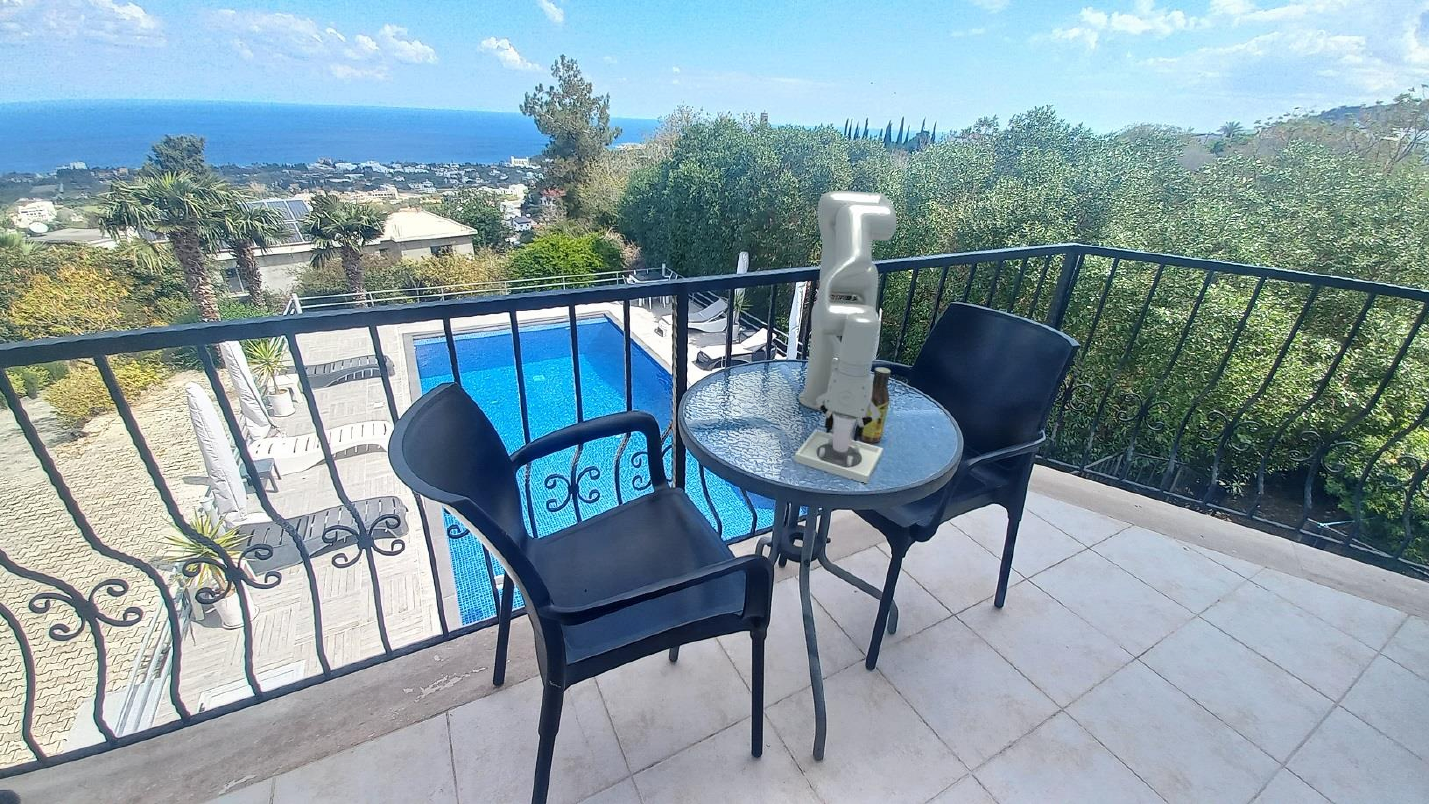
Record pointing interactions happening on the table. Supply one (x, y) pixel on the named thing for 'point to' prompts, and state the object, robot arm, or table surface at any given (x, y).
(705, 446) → the table surface
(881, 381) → the sauce bottle
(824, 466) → the pin tray
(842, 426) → the smoothie
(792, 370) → the table surface
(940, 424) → the table surface
